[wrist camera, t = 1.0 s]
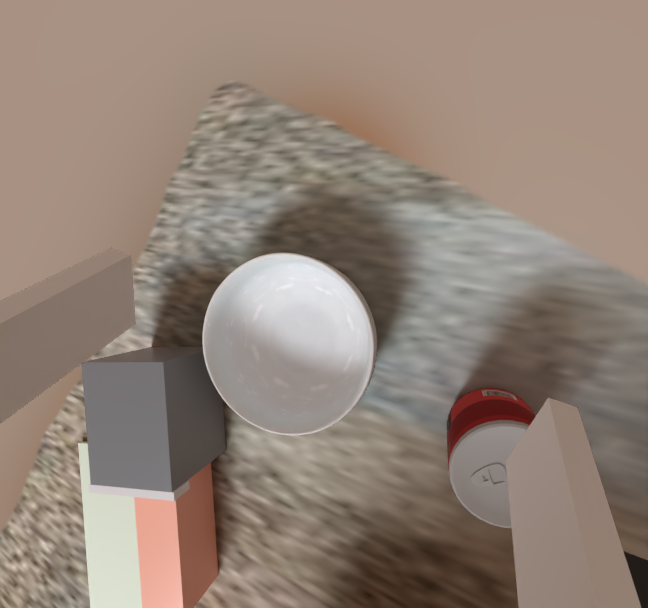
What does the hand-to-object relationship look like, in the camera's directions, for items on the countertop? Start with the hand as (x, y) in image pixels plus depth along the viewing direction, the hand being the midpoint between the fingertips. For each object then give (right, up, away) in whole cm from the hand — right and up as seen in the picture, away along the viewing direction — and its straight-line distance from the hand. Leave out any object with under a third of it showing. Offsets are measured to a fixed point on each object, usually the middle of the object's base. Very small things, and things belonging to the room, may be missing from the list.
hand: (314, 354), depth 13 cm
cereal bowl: (-1, -2, +32) cm, 32 cm away
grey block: (-16, -9, +36) cm, 40 cm away
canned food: (+16, -10, +27) cm, 33 cm away
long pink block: (-15, -20, +36) cm, 44 cm away
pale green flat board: (-25, -28, +39) cm, 54 cm away
